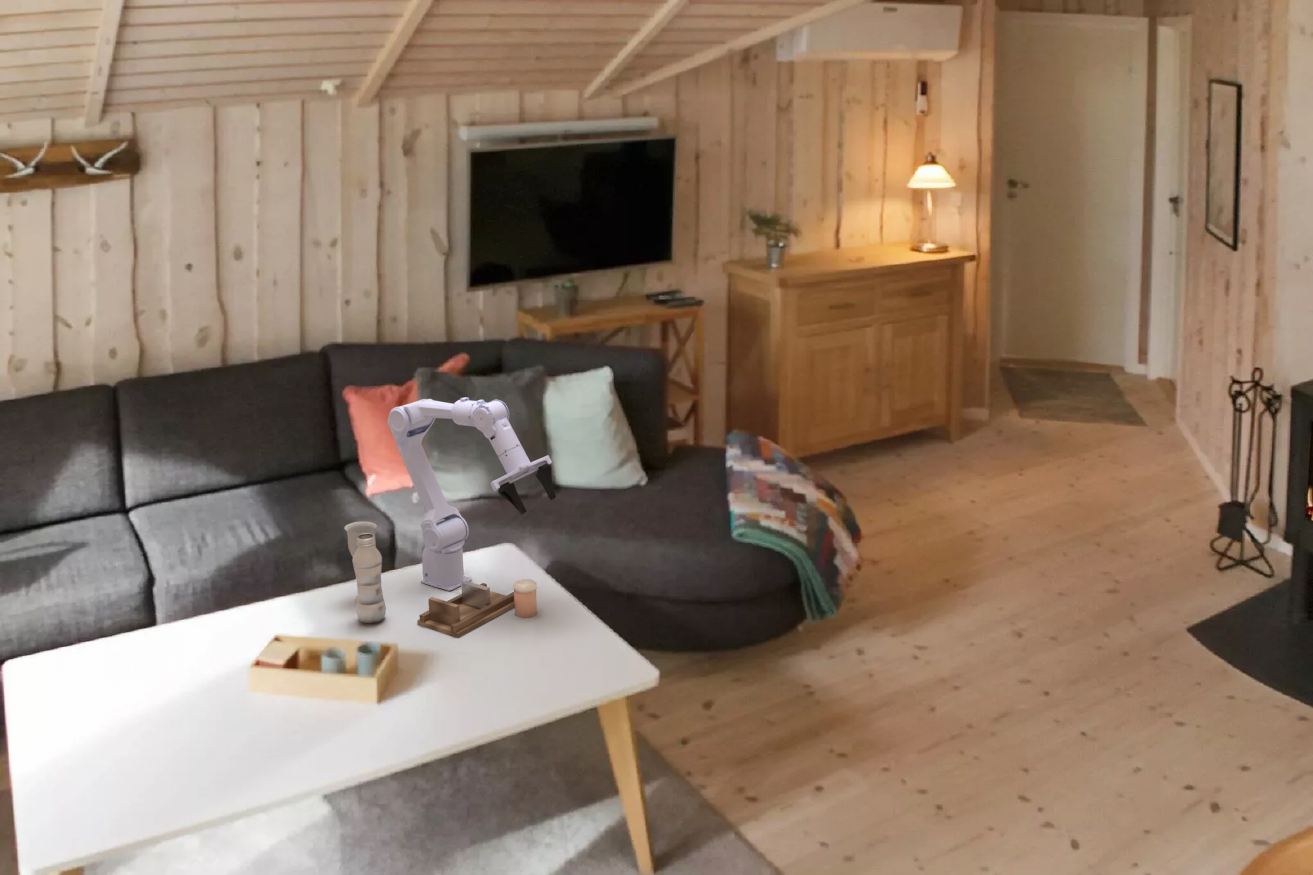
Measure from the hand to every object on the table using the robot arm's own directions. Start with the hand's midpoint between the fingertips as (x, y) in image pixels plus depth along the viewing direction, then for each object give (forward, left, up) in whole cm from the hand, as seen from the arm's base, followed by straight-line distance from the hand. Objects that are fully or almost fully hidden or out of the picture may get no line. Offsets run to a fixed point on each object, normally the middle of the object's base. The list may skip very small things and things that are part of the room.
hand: (539, 506), depth 289 cm
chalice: (-38, -17, -26) cm, 49 cm away
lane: (-13, -10, -25) cm, 30 cm away
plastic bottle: (-29, -24, -26) cm, 46 cm away
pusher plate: (-13, -7, -24) cm, 29 cm away
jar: (-3, -2, -25) cm, 26 cm away
